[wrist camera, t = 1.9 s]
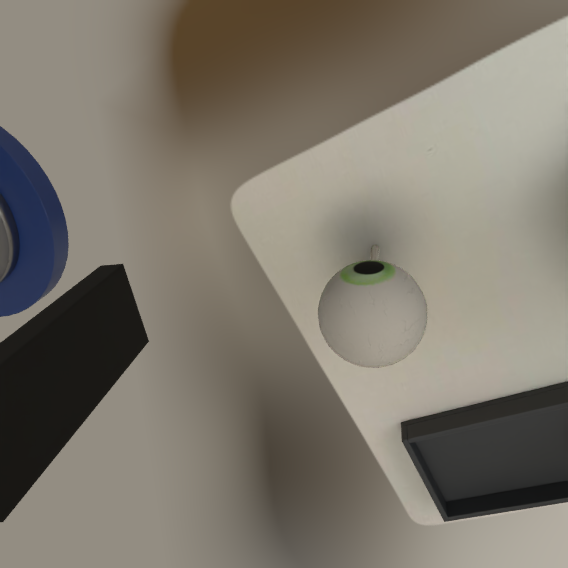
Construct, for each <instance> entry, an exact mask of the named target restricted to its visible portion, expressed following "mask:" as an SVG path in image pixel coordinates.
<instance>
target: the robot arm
mask: <svg viewBox="0 0 568 568" xmlns="http://www.w3.org/2000/svg"><path fill="white" fill-rule="evenodd" d="M19 246H20V245H19V235H18V230H17V226H16V223H15V220H14V217H13V215H12V212H11V210H10V208H9V206H8V204H7V203H6V201H5V199H4V198H3V196H2V195H1V193H0V282H2V281H3V280H5V279H6V278H7V277H8V276H9V275H10V274H11V273H12V271H13V270H14V268H15V266H16V263H17V260H18V256H19ZM148 342H149V340H148V337H147V334H146V331H145V328H144V325H143V322H142V319H141V316H140V314H139V311H138V308H137V304H136V301H135V299H134V296H133V293H132V289H131V287H130V284H129V281H128V278H127V275H126V272H125V269H124V266H123V264H117V265H104V266H100V267H99V268H97V269H96V270H95V271H93V272H92V273H91V274H90V275H88V276H87V277H86V278H84V279H83V280H82V281H80V282H79V283H78V284H76V285H75V286H74V287H72V289H70V290H69V291H67V292H66V293H65V294H63V295H62V296H61V297H60V298H58V299H57V300H56V301H54V302H53V303H52V304H50V305H49V306H48V307H46V308H45V309H44V310H43V311H41V312H40V313H39V314H37V315H36V316H35V317H33V318H32V319H31V320H30V321H28V322H27V323H26V324H24V325H23V326H22V327H20V328H19V329H18V330H17V331H15V332H14V333H13V334H11V335H10V336H9V337H7V338H6V339H5V340H4V341H2V342H1V343H0V522H3V521H4V520H5V519H6V518H7V516H8V515H9V514H10V513H11V511H12V510H13V509H14V508H15V506H16V505H17V504H18V503H19V501H20V500H21V499H22V498H23V497H24V495H25V494H26V493H27V492H28V490H29V489H30V488H31V487H32V485H33V484H34V483H35V482H36V481H37V479H38V478H39V477H40V476H41V474H42V473H43V472H44V471H45V469H46V468H47V467H48V466H49V464H50V463H51V462H52V461H53V459H54V458H55V457H56V456H57V454H58V453H59V452H60V451H61V449H62V448H63V447H64V446H65V445H66V443H67V442H68V441H69V440H70V438H71V437H72V436H73V435H74V433H75V432H76V431H77V429H78V428H79V427H80V426H81V425H82V424H83V422H84V421H85V420H86V419H87V417H88V416H89V415H90V414H91V412H92V411H93V410H94V409H95V407H96V406H97V405H98V404H99V402H100V401H101V400H102V399H103V397H104V396H105V395H106V394H107V392H108V391H109V390H110V389H111V387H112V386H113V385H114V384H115V383H116V381H117V380H118V379H119V378H120V376H121V375H122V374H123V373H124V371H125V370H126V369H127V368H128V367H129V365H130V364H131V363H132V362H133V360H134V359H135V358H136V357H137V355H138V354H139V353H140V352H141V350H142V349H143V348H144V347H145V345H146V344H147V343H148Z"/></svg>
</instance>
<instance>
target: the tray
mask: <svg viewBox="0 0 568 568" xmlns="http://www.w3.org/2000/svg"><path fill="white" fill-rule="evenodd" d="M401 432H402V442H403V444H404V446H405V448H406V450H407V451H408V453H409V455H410V457H411V459H412V461H413V463H414V465H415V467H416V469H417V470H418V472H419V474H420V476H421V478H422V480H423V482H424V484H425V486H426V488H427V489H428V491H429V493H430V495H431V497H432V499H433V501H434V503H435V505H436V507H437V509H438V510H439V512H440V514H441V516H442V518H443V520H444V522H446V521H452V520H458V519H465V518H471V517H477V516H483V515H490V514H496V513H502V512H508V511H515V510H521V509H527V508H533V507H540V506H546V505H552V504H558V503H565V502H568V382H565V383H561V384H557V385H553V386H549V387H545V388H541V389H537V390H533V391H529V392H524V393H520V394H516V395H512V396H508V397H504V398H500V399H496V400H492V401H488V402H484V403H480V404H475V405H471V406H467V407H463V408H459V409H455V410H451V411H447V412H443V413H439V414H435V415H431V416H426V417H422V418H418V419H414V420H410V421H406V422H402V423H401Z"/></svg>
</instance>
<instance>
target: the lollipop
mask: <svg viewBox="0 0 568 568" xmlns="http://www.w3.org/2000/svg"><path fill="white" fill-rule="evenodd" d="M318 319H319V325H320V329H321V332H322V334H323V336H324V338H325V340H326V342H327V343H328V345H329V347H331V349H332V350H333V351H334V352H335V353H336V354H337V355H339V356H340V357H341V358H343V359H344V360H346V361H348V362H350V363H352V364H355V365H358V366H362V367H371V368H379V367H384V366H388V365H392V364H394V363H397V362H399V361H400V360H402V359H404V358H405V357H406V356H408V355H409V354H410V353H412V352H413V351H414V349H415V348H416V346H417V345H418V343H419V342H420V340H421V338H422V336H423V334H424V331H425V328H426V323H427V304H426V300H425V297H424V295H423V292H422V291H421V289H420V287H419V285H418V284H417V283H416V281H415V280H414V279H413V278H412V277H411V276H410V275H409V274H408V273H407V272H406V271H404V270H403V269H401V268H400V267H398V266H396V265H393V264H391V263H388V262H384V261H379V247H378V246H377V245H373V246H372V248H371V260H367V261H360V262H356V263H353V264H351V265H348V266H347V267H345V268H343V269H342V270H340V271H339V272H337V273H336V274H335V275H334V276H333V277H332V278H331V279H330V281H329V282H328V283H327V285H326V286H325V288H324V290H323V293H322V295H321V298H320V302H319V307H318Z"/></svg>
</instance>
